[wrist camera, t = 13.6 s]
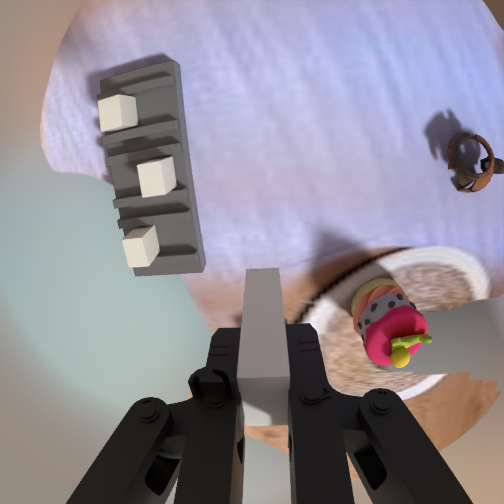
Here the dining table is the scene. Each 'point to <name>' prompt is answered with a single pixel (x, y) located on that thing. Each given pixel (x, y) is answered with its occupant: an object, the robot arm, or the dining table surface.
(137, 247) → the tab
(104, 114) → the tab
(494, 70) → the dining table surface
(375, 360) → the cake
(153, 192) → the tab middle
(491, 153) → the brown broken ring
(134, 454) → the robot arm
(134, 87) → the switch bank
